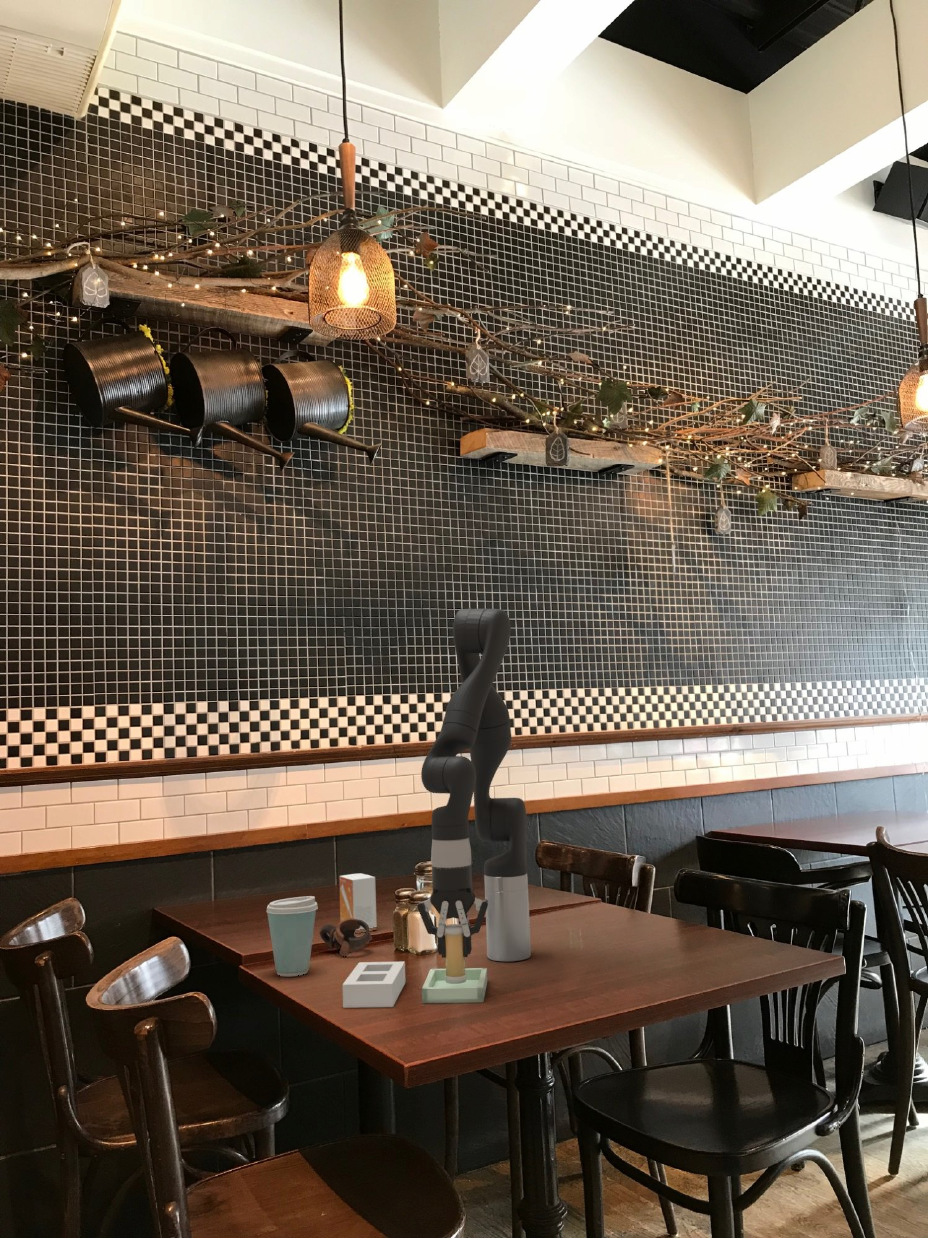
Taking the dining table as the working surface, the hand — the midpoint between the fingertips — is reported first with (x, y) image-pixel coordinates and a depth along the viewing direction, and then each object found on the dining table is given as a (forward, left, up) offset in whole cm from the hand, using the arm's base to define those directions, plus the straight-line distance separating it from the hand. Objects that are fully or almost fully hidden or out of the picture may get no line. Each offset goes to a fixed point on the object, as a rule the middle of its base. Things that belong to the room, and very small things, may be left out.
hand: (454, 956), depth 184 cm
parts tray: (0, 0, -6) cm, 6 cm away
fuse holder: (+1, -15, -6) cm, 16 cm away
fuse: (0, 0, -4) cm, 4 cm away
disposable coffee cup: (-16, -35, -7) cm, 39 cm away
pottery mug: (-33, -28, -7) cm, 44 cm away
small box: (-56, -29, -7) cm, 63 cm away
